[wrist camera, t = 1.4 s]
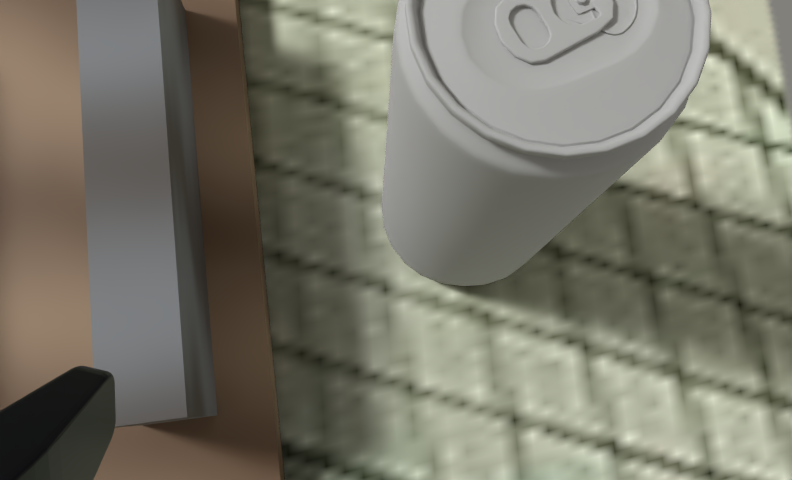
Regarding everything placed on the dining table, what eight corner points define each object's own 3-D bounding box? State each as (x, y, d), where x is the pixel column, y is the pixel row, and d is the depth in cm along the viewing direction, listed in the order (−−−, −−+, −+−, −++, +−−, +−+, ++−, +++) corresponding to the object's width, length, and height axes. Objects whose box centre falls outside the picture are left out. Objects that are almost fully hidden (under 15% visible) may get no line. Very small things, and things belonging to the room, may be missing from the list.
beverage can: (570, 242, 23) (786, 68, 11) (432, 321, 22) (506, 226, 10) (487, 110, 24) (606, -182, 12) (351, 183, 23) (335, -51, 11)
